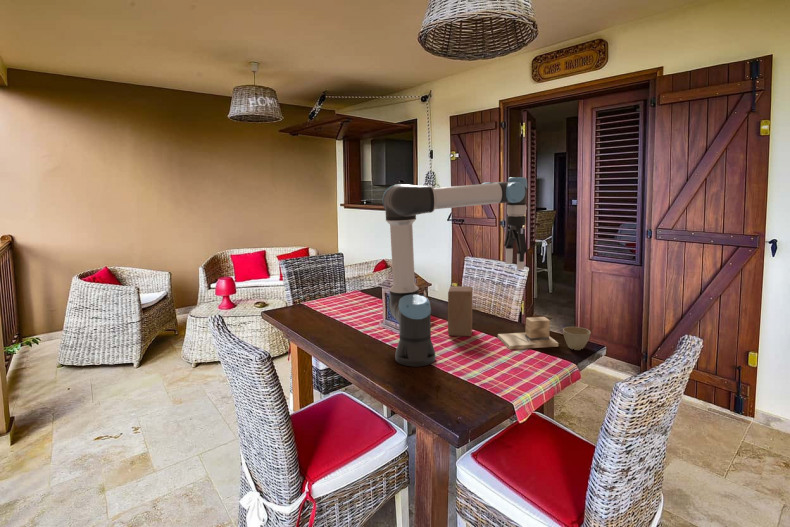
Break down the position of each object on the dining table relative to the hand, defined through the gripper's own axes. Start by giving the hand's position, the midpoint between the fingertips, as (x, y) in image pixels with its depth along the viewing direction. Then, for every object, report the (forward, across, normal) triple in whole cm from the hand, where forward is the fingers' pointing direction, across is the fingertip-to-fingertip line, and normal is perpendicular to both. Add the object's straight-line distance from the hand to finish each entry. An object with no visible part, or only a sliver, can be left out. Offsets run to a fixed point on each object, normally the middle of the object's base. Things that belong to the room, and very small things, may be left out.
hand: (514, 266), depth 185 cm
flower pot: (+30, -18, -20) cm, 40 cm away
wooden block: (+30, +6, +21) cm, 37 cm away
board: (+30, -9, -3) cm, 31 cm away
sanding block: (+28, -9, -8) cm, 31 cm away
